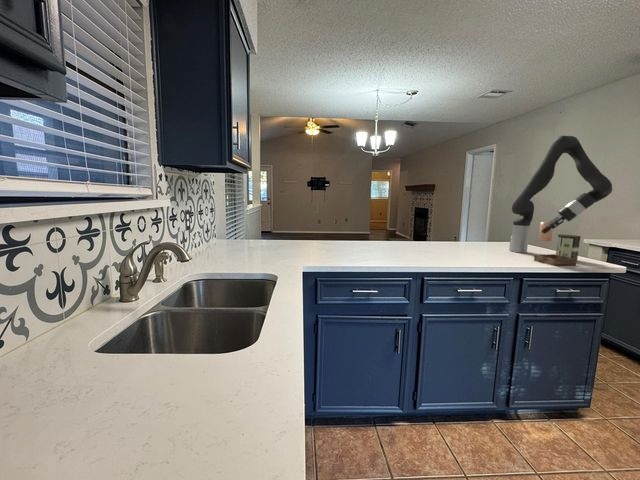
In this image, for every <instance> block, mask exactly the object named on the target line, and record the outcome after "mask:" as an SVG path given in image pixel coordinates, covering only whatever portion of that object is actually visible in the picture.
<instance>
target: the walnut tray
mask: <svg viewBox="0 0 640 480" xmlns="http://www.w3.org/2000/svg"><path fill="white" fill-rule="evenodd" d="M576 260H577V261H578V259H574V258H570V257H565V256H560V255H556V253H554V254H553V253H551V254H550V253H549V254H548V253H546V254H534V256H533V261H534V262H537V263H542V264H545V265H548V266H553V267H563V266H565V267H567V266H570V267H573V266H574V267H576V266H577V261H576Z"/></svg>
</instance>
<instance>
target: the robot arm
mask: <svg viewBox="0 0 640 480" xmlns="http://www.w3.org/2000/svg"><path fill="white" fill-rule="evenodd" d="M563 154H567V155H568V156H569V157H570V158H572V160H574V163H575V167H576V170H577V172H578V173H579V175H580V176H581V177H582V178H583V180H584V181H585V182H587V183H589V185H590V186H591V187H592V189H591V190H590V191H588V192H587V193H586V192H584V193H582V194H579V196H578V197H576V198H574V199H573V200H572V201H570V202H568V203H567V204H566V205H564V206H562V208H560V209H559V210H557V213H558V214H559V215H558V216H554V217H553V218H552V219H550V220H549V221H548V222H550V223H551V224H549V225H548V226H547V227H546V228H544V229H543V230H542V232H543V233H544V234H545V233H547V232H548V231H549V230H551V229H552V230H554V229H555V228H557V227H559V226H560V225H561V224H563V223H564V221H566V222H571V221H572V220H573V219H575V218H576V217H578V216H579V215H581V214H583V212H584V211H586V210H587V209H588V208H590V207H591V206H592V205H594V204H595V203H597V202H599V201H601V200H603V199H606V198H607V197H608V196H609V195H610V194H611V193H612V192H613V184H612V182H611V180H610V179H609V178H608V177H607V176H606V175H604V174H603V173H602V172H601V171H600V170H599V169H598V167H597V166H596V165H595V164H594V163H593V161H592V160H591V159H590V157H589V156H588V154H587V153H586V151H585V150H584V148H583V145H582V144H581V143H580V140H579V139H578V137H575V136H573V135H560V136H557V137H556V138H555V139H554V140H553V141H552V144H551V145H550V146H549V149H548V150H547V153H546V155H545V157H544V158H543V160H542V161H541V163H540V165H539V166H538V168H537V170H536V171H535V172H534V173H533V175H532V177H531V178H530V180H529V182H528V184H527V185H526V186H525V187H524V189H523V190H522V192H521V193H520V194H519V195H518V197H517V198H516V199H515V200H514V202H513V203H512V205H511V212H512V213H513V214H515V215H518V218H516V219H515V220H513V223H512V231H511V236H510V239H509V251H510V252H513V253H514V252H515V253H523V254H524V253H526V254H527V253H528V246H529V240H530V239H529V238H530V230H531V229H530V228H531V223H532V221H533V218H534V212H535V205H534V204H535V203H534V202H533V201H532V200H531V199H532V198H533V197H534V196H535V195H537V194H539V193H540V192H541V191H543V189H545V188H546V187H548V185H549V183H550V182H551V181H552V179H553V177H554V175H555V171H556V169H555V168H556V164H557V162H558V161H559V159H560V158H561V156H562V155H563Z"/></svg>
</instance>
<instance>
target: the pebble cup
mask: <svg viewBox="0 0 640 480" xmlns="http://www.w3.org/2000/svg"><path fill="white" fill-rule="evenodd" d="M549 224H551V223H550V222H549V221H540V224H539V232H538V241H540V242H551V241H552V236H553V229H551V230H549V231H548V232H547V233H545V234H544V233H543V232H542V230H543V229H544V228H546V227H547V226H548V225H549Z"/></svg>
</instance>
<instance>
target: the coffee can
mask: <svg viewBox="0 0 640 480" xmlns="http://www.w3.org/2000/svg"><path fill="white" fill-rule="evenodd" d="M581 237H582V236H581V235H577V234H576V235H575V234H574V235H573V234H557V243H556V250H555V251H556V252H555V254H556V255H560V256H565V257H570V258H574V259H577V260H576V262H578V256H579V250H580V249H579V248H580V242H581Z"/></svg>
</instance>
